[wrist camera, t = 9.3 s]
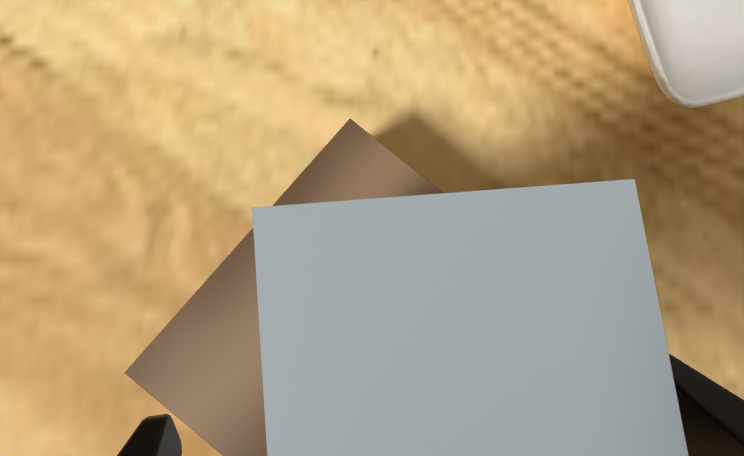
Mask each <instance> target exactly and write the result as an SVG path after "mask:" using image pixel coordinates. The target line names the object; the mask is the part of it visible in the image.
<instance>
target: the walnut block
mask: <svg viewBox="0 0 744 456" xmlns="http://www.w3.org/2000/svg"><path fill="white" fill-rule="evenodd" d="M440 193H442V192H441V191H440V190H438V189H437V188H436V187H435V186H433V185H432V184H431V183H430V182H428V181H427V180H426V179H425V178H423V177H422V176H421V175H420V174H418V173H417V172H416V171H415V170H414V169H412V168H411V167H410V166H409V165H407V164H406V163H405V162H404V161H402V160H401V159H400V158H399V157H397V156H396V155H395V154H394V153H392V152H391V151H390V150H389V149H387V148H386V147H385V146H384V145H382V144H381V143H380V142H379V141H377V140H376V139H375V138H374V137H372V136H371V135H370V134H369V133H368V132H366V131H365V130H364V129H363V128H361V127H360V126H359V125H358V124H356V123H355V122H354V121H353V120H351V119H349V120H348V121H347V122H346V123H345V125H344V126H343V127H342V128H341V129H340V130H339V131H338V133H337V134H336V135H335V136H334V137H333V138H332V139H331V140H330V142H329V143H328V144H327V145H326V146H325V147H324V148H323V149H322V151H321V152H320V153H319V154H318V155H317V156H316V157H315V158H314V160H313V161H312V162H311V163H310V164H309V165H308V166H307V167H306V169H305V170H304V171H303V172H302V173H301V174H300V175H299V177H298V178H297V179H296V180H295V181H294V182H293V183H292V184H291V186H290V187H289V188H288V189H287V190H286V191H285V192H284V193H283V195H282V196H281V197H280V198H279V199H278V200H277V201H276V202H275V204H274V205H273V206H281V205H294V204H307V203H321V202H334V201H347V200H361V199H374V198H387V197H401V196H414V195H427V194H440ZM125 374H127V375H128V376H129V377H130V378H131V379H132V380H134V381H135V382H136V383H137V384H138V385H140V386H141V387H142V388H143V389H144V390H146V391H147V392H148V393H149V394H150V395H151V396H153V397H154V398H155V399H156V400H157V401H159V402H160V403H161V404H162V405H163V406H165V407H166V408H167V409H168V410H169V411H170V412H172V413H173V414H174V415H175V416H176V417H178V418H179V419H180V420H181V421H182V422H184V423H185V424H186V425H187V426H188V427H189V428H191V429H192V430H193V431H194V432H195V433H197V434H198V435H199V436H200V437H201V438H202V439H204V440H205V441H206V442H207V443H208V444H210V445H211V446H212V447H213V448H214V449H216V450H217V451H218V452H219V453H220V454H221V455H223V456H267V442H266V426H265V410H264V394H263V377H262V361H261V345H260V329H259V312H258V296H257V280H256V264H255V247H254V231H253V228H252V230H251V231H250V232H249V233H248V234H247V235H246V236H245V237H244V239H243V240H242V241H241V242H240V243H239V244H238V245H237V246H236V248H235V249H234V250H233V251H232V252H231V253H230V254H229V255H228V257H227V258H226V259H225V260H224V261H223V262H222V263H221V264H220V266H219V267H218V268H217V269H216V270H215V271H214V272H213V273H212V275H211V276H210V277H209V278H208V279H207V280H206V281H205V283H204V284H203V285H202V286H201V287H200V288H199V289H198V290H197V292H196V293H195V294H194V295H193V296H192V297H191V298H190V299H189V301H188V302H187V303H186V304H185V305H184V306H183V307H182V308H181V310H180V311H179V312H178V313H177V314H176V315H175V316H174V317H173V319H172V320H171V321H170V322H169V323H168V324H167V325H166V327H165V328H164V329H163V330H162V331H161V332H160V333H159V334H158V336H157V337H156V338H155V339H154V340H153V341H152V342H151V343H150V345H149V346H148V347H147V348H146V349H145V350H144V351H143V352H142V354H141V355H140V356H139V357H138V358H137V359H136V360H135V361H134V363H133V364H132V365H131V366H130V367H129V368H128V369H127V370H126V372H125Z"/></svg>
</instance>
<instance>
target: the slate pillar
mask: <svg viewBox="0 0 744 456" xmlns="http://www.w3.org/2000/svg"><path fill="white" fill-rule="evenodd" d="M252 215H253V231H254V247H255V264H256V280H257V296H258V312H259V329H260V345H261V361H262V377H263V394H264V410H265V426H266V442H267V456H688V450H687V445H686V440H685V435H684V430H683V425H682V420H681V414H680V409H679V404H678V399H677V394H676V389H675V384H674V378H673V373H672V368H671V363H670V358H669V353H668V348H667V342H666V337H665V332H664V327H663V322H662V317H661V312H660V307H659V301H658V296H657V291H656V286H655V281H654V276H653V271H652V265H651V260H650V255H649V250H648V245H647V240H646V235H645V229H644V224H643V219H642V214H641V209H640V204H639V199H638V193H637V188H636V183H635V179H627V180H613V181H600V182H587V183H574V184H560V185H547V186H534V187H520V188H507V189H494V190H480V191H467V192H454V193H440V194H427V195H414V196H401V197H387V198H374V199H361V200H347V201H334V202H321V203H307V204H294V205H281V206H268V207H254V208H252Z"/></svg>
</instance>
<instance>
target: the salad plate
mask: <svg viewBox="0 0 744 456" xmlns="http://www.w3.org/2000/svg"><path fill="white" fill-rule="evenodd" d="M628 3H629V6H630V9H631V12H632V14H633V17H634V20H635V23H636V26H637V29H638V32H639V35H640V38H641V41H642V44H643V47H644V50H645V53H646V56H647V59H648V62H649V65H650V67H651V70H652V73H653V75H654V77H655V79H656V82H657V84H658V86H659V87H660V89H661V91H662V92H663V93H664V94H665V96H666V97H667V98H668V99H669V100H670V101H672V102H673V103H675V104H677V105H680V106H682V107H687V108H696V107H702V106H707V105H711V104H716V103H720V102H723V101H727V100H731V99H735V98H738V97H742V96H744V0H628Z"/></svg>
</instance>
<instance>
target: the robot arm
mask: <svg viewBox="0 0 744 456" xmlns="http://www.w3.org/2000/svg"><path fill="white" fill-rule="evenodd" d="M669 358H670V363H671V368H672V373H673V378H674V384H675V389H676V394H677V399H678V404H679V409H680V414H681V420H682V425H683V430H684V435H685V440H686V445H687V450H688V456H744V400H743V399H741V398H739V397H738V396H736V395H735V394H733V393H731V392H730V391H728V390H727V389H725V388H723V387H722V386H720V385H719V384H717V383H715V382H714V381H712V380H711V379H709V378H707V377H706V376H704V375H703V374H701V373H699V372H698V371H696V370H695V369H693V368H691V367H690V366H688V365H687V364H685V363H683V362H682V361H680V360H679V359H677V358H675V357H674V356H672V355H671V354H669ZM181 454H182V447H181V440H180V437H179V435H178V432H177V430H176V427H175V425H174V422H173V420H172V418H171V416H170V415H168V414H163V415H156V416H149V417H146V418H145V419H144V420H143V421H142V422H141V423H140V424H139V426H138V427H137V429H136V430H135V431H134V433H133V434H132V436H131V437H130V438H129V440H128V441H127V443H126V444H125V445H124V447H123V448H122V450H121V451H120V452H119V454H118V455H117V456H181Z"/></svg>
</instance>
